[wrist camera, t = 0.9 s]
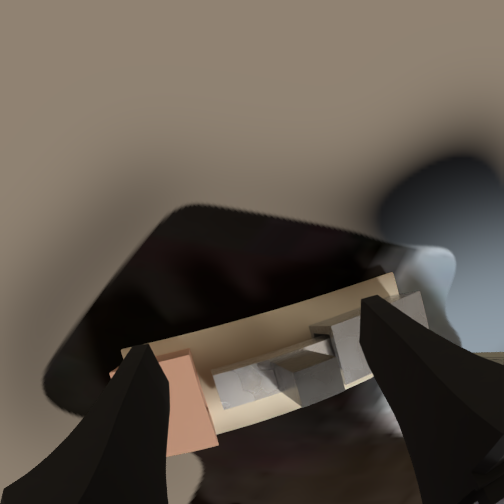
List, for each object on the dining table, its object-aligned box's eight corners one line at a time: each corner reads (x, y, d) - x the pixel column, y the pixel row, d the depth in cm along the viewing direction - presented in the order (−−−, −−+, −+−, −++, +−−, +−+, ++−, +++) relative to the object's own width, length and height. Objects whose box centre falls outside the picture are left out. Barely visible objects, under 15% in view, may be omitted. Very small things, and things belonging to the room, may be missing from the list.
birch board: (407, 355, 26) (413, 356, 25) (155, 443, 21) (154, 448, 20) (386, 273, 27) (392, 271, 26) (123, 348, 22) (120, 349, 21)
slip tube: (396, 335, 24) (455, 336, 18) (220, 400, 21) (233, 434, 14) (389, 308, 25) (447, 301, 18) (210, 369, 21) (219, 391, 14)
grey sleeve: (401, 341, 25) (431, 342, 21) (321, 375, 23) (346, 384, 19) (390, 295, 26) (420, 290, 22) (308, 325, 24) (331, 326, 20)
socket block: (213, 422, 21) (218, 445, 17) (149, 437, 20) (141, 461, 16) (189, 347, 22) (189, 354, 18) (124, 363, 21) (109, 372, 17)
